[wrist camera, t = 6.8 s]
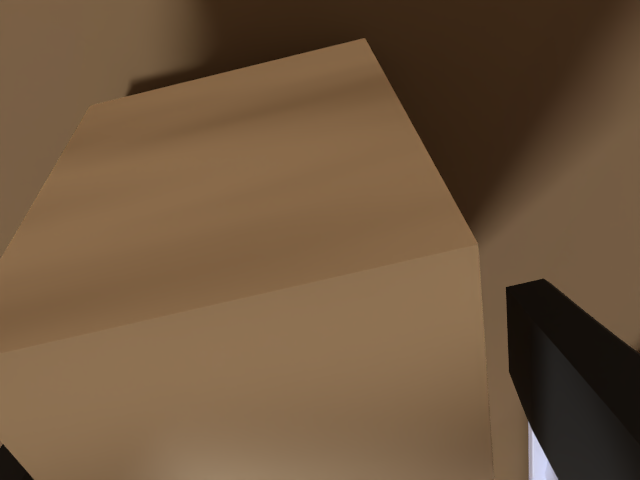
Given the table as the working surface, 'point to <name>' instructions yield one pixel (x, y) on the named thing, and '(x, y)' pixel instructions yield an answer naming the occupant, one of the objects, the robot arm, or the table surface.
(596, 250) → the table surface
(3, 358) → the wooden block
